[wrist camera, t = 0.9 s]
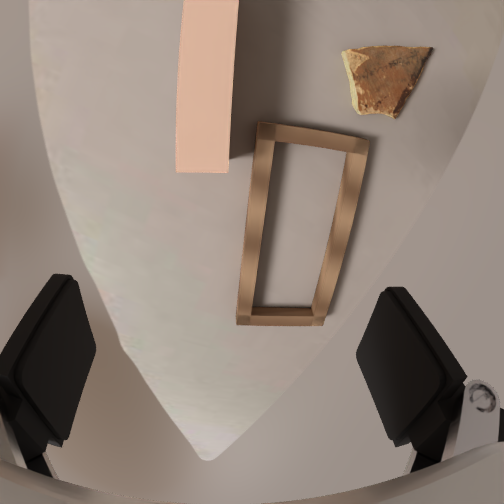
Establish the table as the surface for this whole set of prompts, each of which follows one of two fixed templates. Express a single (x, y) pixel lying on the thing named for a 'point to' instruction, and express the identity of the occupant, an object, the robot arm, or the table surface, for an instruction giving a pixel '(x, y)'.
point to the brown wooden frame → (338, 233)
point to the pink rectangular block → (205, 85)
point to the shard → (383, 76)
